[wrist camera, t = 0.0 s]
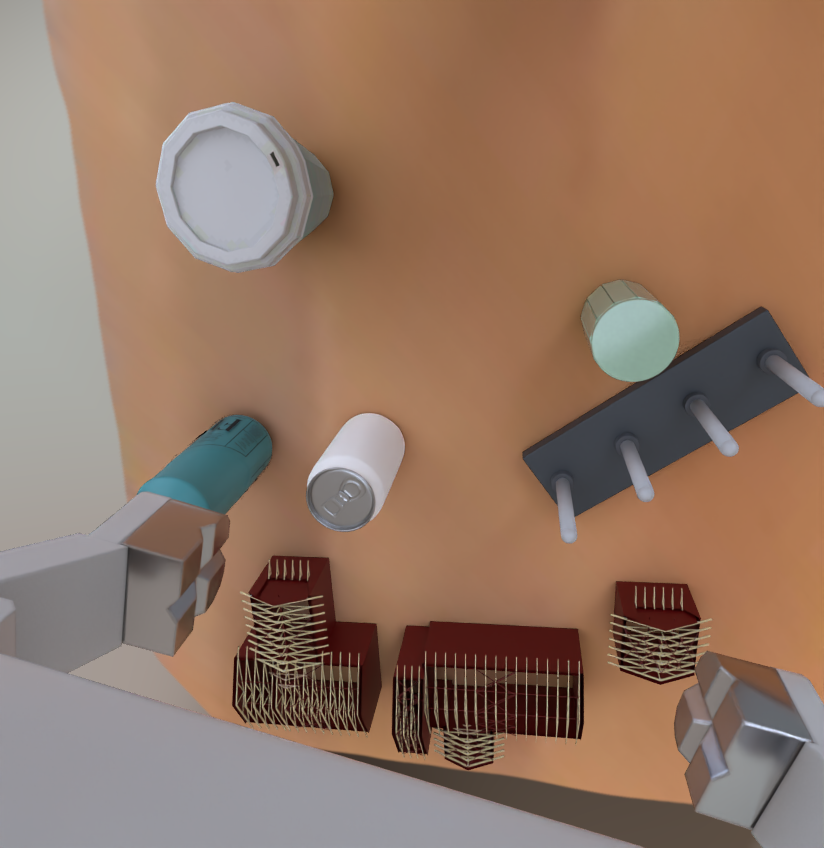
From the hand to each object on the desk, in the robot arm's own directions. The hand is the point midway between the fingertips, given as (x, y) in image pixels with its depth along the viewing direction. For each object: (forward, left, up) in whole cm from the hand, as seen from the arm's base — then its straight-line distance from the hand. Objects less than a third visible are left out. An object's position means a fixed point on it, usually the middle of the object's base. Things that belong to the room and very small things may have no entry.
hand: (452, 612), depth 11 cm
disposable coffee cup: (-2, -19, -48) cm, 52 cm away
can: (+19, -8, -48) cm, 53 cm away
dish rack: (+10, +16, -48) cm, 52 cm away
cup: (+2, +10, -48) cm, 49 cm away
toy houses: (+38, +6, -48) cm, 61 cm away
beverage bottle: (+22, -20, -48) cm, 57 cm away
